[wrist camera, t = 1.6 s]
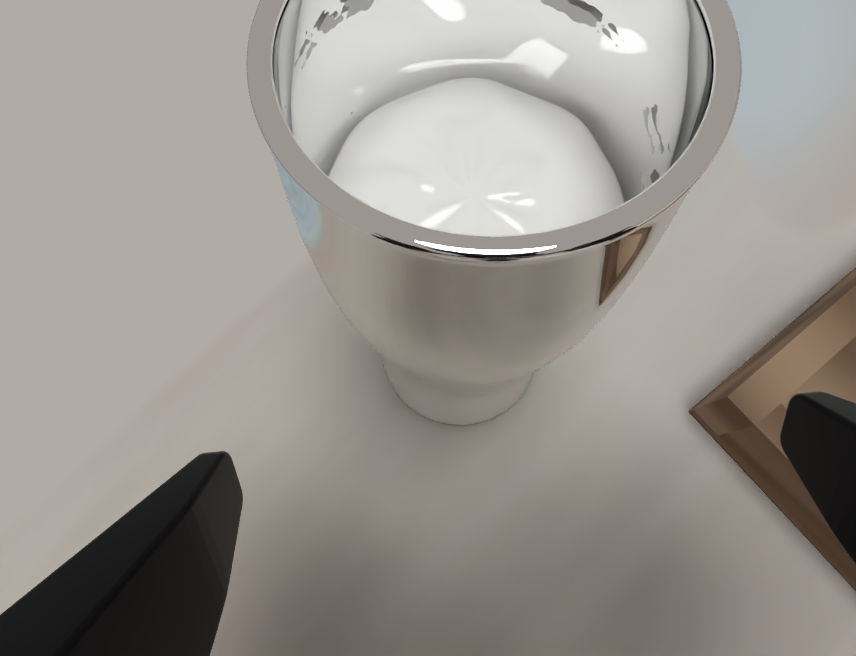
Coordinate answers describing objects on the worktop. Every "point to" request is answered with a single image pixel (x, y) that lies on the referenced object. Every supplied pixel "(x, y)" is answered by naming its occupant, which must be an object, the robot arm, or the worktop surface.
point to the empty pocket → (767, 403)
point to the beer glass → (487, 168)
